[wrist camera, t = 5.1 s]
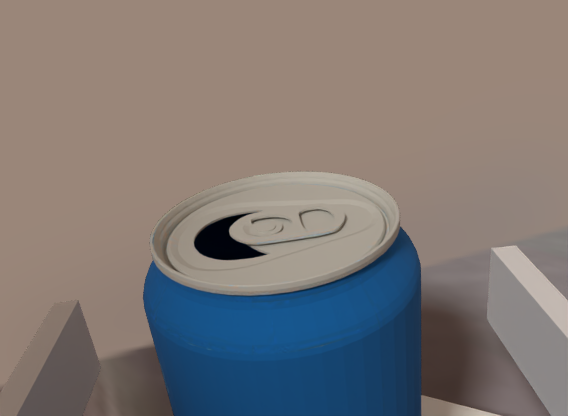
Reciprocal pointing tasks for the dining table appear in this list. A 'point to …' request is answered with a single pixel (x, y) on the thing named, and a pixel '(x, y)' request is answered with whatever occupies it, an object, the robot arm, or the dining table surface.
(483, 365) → the dining table surface
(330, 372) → the beverage can
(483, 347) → the dining table surface
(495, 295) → the robot arm
